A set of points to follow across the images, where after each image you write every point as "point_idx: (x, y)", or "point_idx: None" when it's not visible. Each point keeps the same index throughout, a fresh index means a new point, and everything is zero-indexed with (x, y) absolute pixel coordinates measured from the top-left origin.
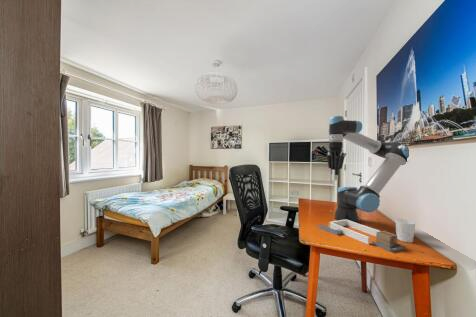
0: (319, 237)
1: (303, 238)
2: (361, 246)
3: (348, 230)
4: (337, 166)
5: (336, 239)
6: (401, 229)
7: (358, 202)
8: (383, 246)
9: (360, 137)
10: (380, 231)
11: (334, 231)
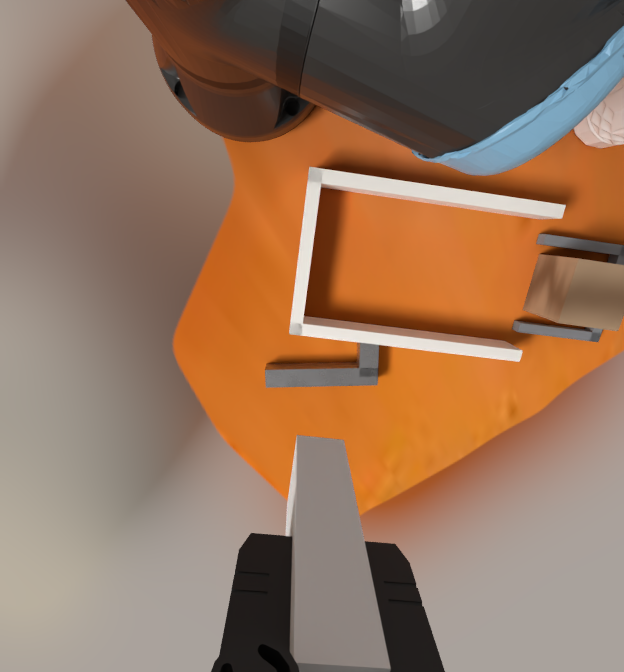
0: None
1: None
2: (491, 393)
3: (417, 348)
4: None
5: (397, 421)
6: None
7: (455, 167)
8: (563, 337)
9: None
10: (568, 289)
11: (362, 384)
